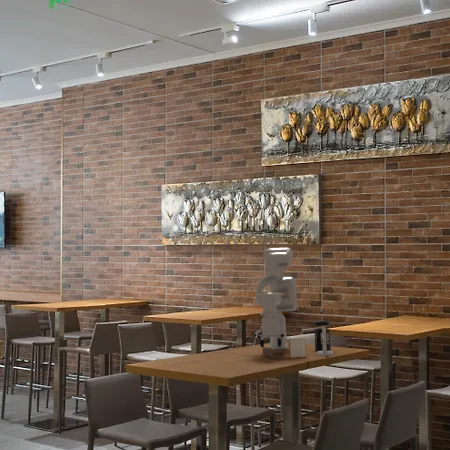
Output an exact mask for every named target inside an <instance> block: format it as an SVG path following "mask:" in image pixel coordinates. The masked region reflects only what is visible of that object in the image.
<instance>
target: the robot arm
mask: <svg viewBox="0 0 450 450" xmlns="http://www.w3.org/2000/svg"><path fill="white" fill-rule="evenodd" d="M262 253H263V259H264V261H265V263H264V276H263V277H262V278H261V279H260V280H259V282H257V285H256V289H255V302H256V303H255V304H256V305H258V306H259V307H260V306H262V313H260V317H262V318H261V323H260V328H259V329H258V330H256V331H255V332H254V334H255V336H256V338H258V339H259V346H260V348H264V347H265V341H264V338H265V337H269V340H270V341H269V342H270V345H269V346H267V347H268V348H271V349H274V350H277V351H280V350H287V349H288V350H289V345H287V326H286V325H287V323H286V317H285V315H283V313H282V312H294V311H296V310H297V308H298V297H297V281H296V279H295V278H294V277H293V276H284V267H285V268H286V267H290V266H291V264H292V260H293V256H294V253H293V250H292V248H290V247H270V248H269V247H268V248H266V249H264V250H263V252H262ZM267 286H269V291H270V292H269V291H263V289H264V288H265V287H267ZM262 291H263V292H262ZM286 293H287V294H286ZM259 333H260V334H259Z"/></svg>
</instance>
